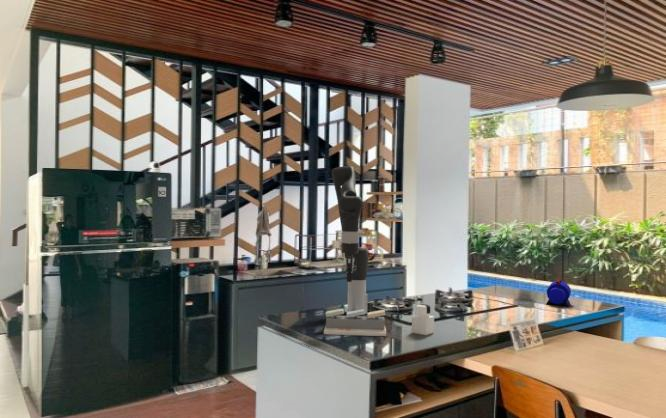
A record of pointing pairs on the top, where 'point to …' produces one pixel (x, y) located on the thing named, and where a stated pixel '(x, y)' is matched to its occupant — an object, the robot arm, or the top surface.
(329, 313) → the plate
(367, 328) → the switch panel
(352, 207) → the robot arm
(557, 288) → the alarm clock
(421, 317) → the medicine bottle
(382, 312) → the beige flat panel
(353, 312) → the pale grey-blue box
